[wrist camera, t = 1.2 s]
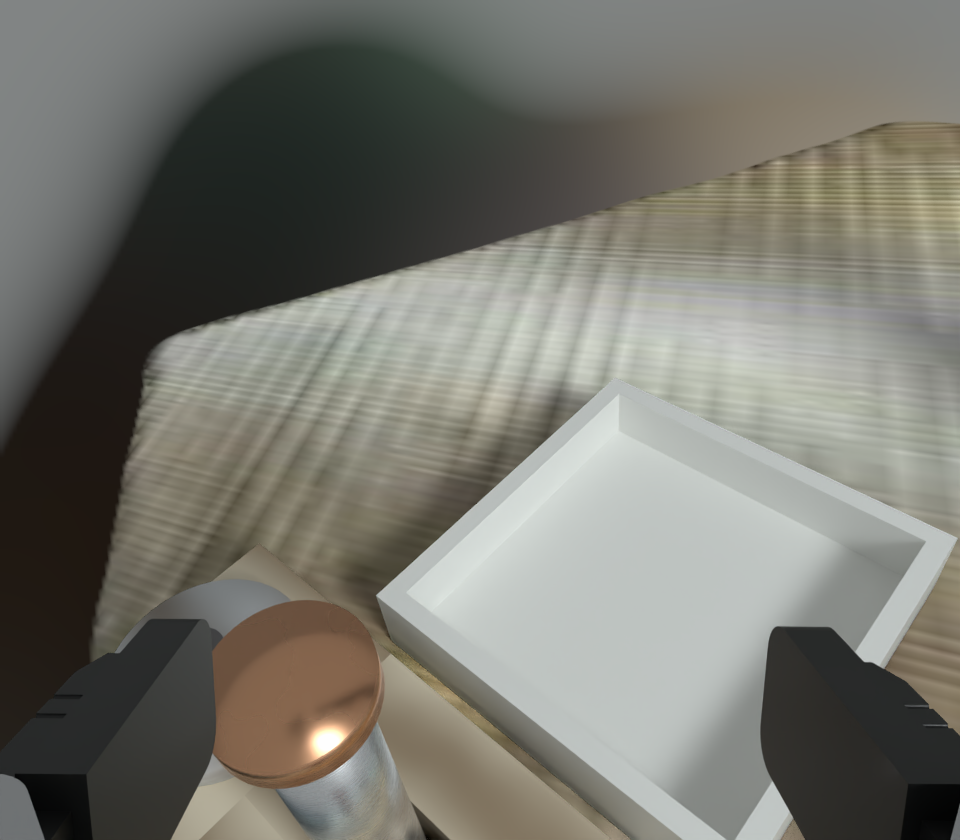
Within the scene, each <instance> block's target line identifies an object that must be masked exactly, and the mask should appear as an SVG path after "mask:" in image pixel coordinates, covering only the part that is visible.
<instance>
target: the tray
mask: <svg viewBox="0 0 960 840" xmlns="http://www.w3.org/2000/svg"><path fill="white" fill-rule="evenodd" d="M957 539H958V538H956V537H954V536H952V535H950V534H948V533H946V532H943V531H941V530H939V529H937V528H935V527H933V526H931V525H929V524H926V523H924V522H922V521H920V520H918V519H916V518H914V517H911V516H909V515H907V514H905V513H903V512H901V511H899V510H897V509H894V508H892V507H890V506H888V505H886V504H884V503H882V502H880V501H877V500H875V499H873V498H871V497H869V496H867V495H865V494H862V493H860V492H858V491H856V490H854V489H852V488H850V487H848V486H845V485H843V484H841V483H839V482H837V481H835V480H833V479H830V478H828V477H826V476H824V475H822V474H820V473H818V472H816V471H813V470H811V469H809V468H807V467H805V466H803V465H801V464H799V463H796V462H794V461H792V460H790V459H788V458H786V457H784V456H781V455H779V454H777V453H775V452H773V451H771V450H769V449H767V448H764V447H762V446H760V445H758V444H756V443H754V442H752V441H749V440H747V439H745V438H743V437H741V436H739V435H737V434H735V433H732V432H730V431H728V430H726V429H724V428H722V427H720V426H718V425H715V424H713V423H711V422H709V421H707V420H705V419H703V418H700V417H698V416H696V415H694V414H692V413H690V412H688V411H686V410H683V409H681V408H679V407H677V406H675V405H673V404H671V403H668V402H666V401H664V400H662V399H660V398H658V397H656V396H654V395H651V394H649V393H647V392H645V391H643V390H641V389H639V388H637V387H634V386H632V385H630V384H628V383H626V382H624V381H622V380H619V379H617V378H614V379H613V380H612V381H611V382H610V383H609V384H607V385H606V386H605V387H604V388H603V389H602V390H601V391H600V392H599V393H598V394H596V395H595V396H594V397H593V398H592V399H591V400H590V401H589V402H588V403H587V404H586V405H584V406H583V407H582V408H581V409H580V410H579V411H578V412H577V413H576V414H575V415H573V416H572V417H571V418H570V419H569V420H568V421H567V422H566V423H565V424H564V425H562V426H561V427H560V428H559V429H558V430H557V431H556V432H555V433H554V434H553V435H552V436H550V437H549V438H548V439H547V440H546V441H545V442H544V443H543V444H542V445H541V446H539V447H538V448H537V449H536V450H535V451H534V452H533V453H532V454H531V455H530V456H528V457H527V458H526V459H525V460H524V461H523V462H522V463H521V464H520V465H519V466H518V467H516V468H515V469H514V470H513V471H512V472H511V473H510V474H509V475H508V476H507V477H505V478H504V479H503V480H502V481H501V482H500V483H499V484H498V485H497V486H496V487H495V488H493V489H492V490H491V491H490V492H489V493H488V494H487V495H486V496H485V497H484V498H482V499H481V500H480V501H479V502H478V503H477V504H476V505H475V506H474V507H473V508H471V509H470V510H469V511H468V512H467V513H466V514H465V515H464V516H463V517H462V518H461V519H459V520H458V521H457V522H456V523H455V524H454V525H453V526H452V527H451V528H450V529H448V530H447V531H446V532H445V533H444V534H443V535H442V536H441V537H440V538H439V539H437V540H436V541H435V542H434V543H433V544H432V545H431V546H430V547H429V548H428V549H427V550H425V551H424V552H423V553H422V554H421V555H420V556H419V557H418V558H417V559H416V560H414V561H413V562H412V563H411V564H410V565H409V566H408V567H407V568H406V569H405V570H404V571H402V572H401V573H400V574H399V575H398V576H397V577H396V578H395V579H394V580H393V581H391V582H390V583H389V584H388V585H387V586H386V587H385V588H384V589H383V590H382V591H380V592H379V593H378V594H377V595H376V597H377V600H378V603H379V606H380V609H381V612H382V615H383V618H384V621H385V623H386V626H387V629H388V632H389V635H390V638H391V641H392V642H394V643H395V644H396V645H397V646H399V647H400V648H401V649H402V650H403V651H405V652H406V653H407V654H408V655H409V656H411V657H412V658H413V659H414V660H415V661H417V662H418V663H419V664H420V665H422V666H423V667H424V668H425V669H426V670H428V671H429V672H430V673H431V674H432V675H434V676H435V677H436V678H437V679H438V680H440V681H441V682H442V683H443V684H444V685H446V686H447V687H448V688H449V689H451V690H452V691H453V692H454V693H455V694H457V695H458V696H459V697H460V698H461V699H463V700H464V701H465V702H466V703H467V704H469V705H470V706H471V707H472V708H473V709H475V710H476V711H477V712H478V713H480V714H481V715H482V716H483V717H484V718H486V719H487V720H488V721H489V722H490V723H492V724H493V725H494V726H495V727H496V728H498V729H499V730H500V731H501V732H502V733H504V734H505V735H506V736H507V737H509V738H510V739H511V740H512V741H513V742H515V743H516V744H517V745H518V746H519V747H521V748H522V749H523V750H524V751H525V752H527V753H528V754H529V755H530V756H531V757H533V758H534V759H535V760H536V761H538V762H539V763H540V764H541V765H542V766H544V767H545V768H546V769H547V770H548V771H550V772H551V773H552V774H553V775H554V776H556V777H557V778H558V779H559V780H560V781H562V782H563V783H564V784H565V785H567V786H568V787H569V788H570V789H571V790H573V791H574V792H575V793H576V794H577V795H579V796H580V797H581V798H582V799H583V800H585V801H586V802H587V803H588V804H589V805H591V806H592V807H593V808H594V809H596V810H597V811H598V812H599V813H600V814H602V815H603V816H604V817H605V818H606V819H608V820H609V821H610V822H611V823H612V824H614V825H615V826H616V827H617V828H618V829H620V830H621V831H622V832H623V833H625V834H626V835H627V836H628V837H629V838H631V839H632V840H780V839H781V838H782V836H783V834H784V833H785V831H786V829H787V828H788V826H789V824H790V823H791V821H792V819H793V817H792V815H791V813H790V811H789V809H788V808H787V806H786V804H785V802H784V801H783V799H782V797H781V795H780V793H779V792H778V790H777V788H776V786H775V784H774V783H773V781H772V779H771V777H770V775H769V773H768V771H767V769H766V766H765V762H764V759H763V754H762V748H761V739H760V724H761V713H762V703H763V692H764V682H765V671H766V661H767V650H768V642H769V637H770V634H771V632H772V630H773V629H774V628H775V627H777V626H796V627H830V628H832V629H833V630H835V632H836V633H837V634H838V635H839V636H840V637H841V638H842V639H843V640H844V641H845V642H846V643H847V644H848V645H849V646H850V648H851V649H852V650H853V651H854V652H855V653H856V654H857V655H858V656H859V657H860V658H861V659H862V660H863V661H864V662H873V663H874V664H876V665H878V666H880V667H881V668H883V669H884V668H885V667H886V665H887V663H888V662H889V660H890V658H891V657H892V655H893V654H894V652H895V650H896V649H897V647H898V645H899V644H900V642H901V640H902V639H903V637H904V635H905V634H906V632H907V631H908V629H909V627H910V626H911V624H912V622H913V621H914V619H915V617H916V616H917V614H918V612H919V611H920V609H921V608H922V606H923V604H924V603H925V601H926V599H927V598H928V596H929V594H930V593H931V591H932V589H933V588H934V586H935V584H936V582H937V580H938V577H939V575H940V573H941V571H942V569H943V567H944V565H945V563H946V561H947V559H948V557H949V555H950V553H951V551H952V549H953V547H954V545H955V543H956V541H957Z"/></svg>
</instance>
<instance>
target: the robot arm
mask: <svg viewBox="0 0 960 840" xmlns="http://www.w3.org/2000/svg"><path fill="white" fill-rule="evenodd" d="M215 735H216V708H215V691H214V674H213V656H212V639H211V631H210V627H209V624H208V622H207V621H206V620H205V619H150V620H149V621H148V622H146V624H145V625H144V626H143V627H142V628H141V629H140V630H139V632H138V633H137V634H136V635H135V636H134V637H133V639H132V640H131V641H130V642H129V643H128V644H127V645H126V647H125V648H124V649H123V650H122V651H121V652H120V653H107V654H106V655H104V656H102V657H100V658H99V659H97V660H95V661H94V662H92V663H90V664H88V665H87V666H85V667H83V668H82V669H80V670H78V671H76V672H75V673H74V674H73V675H72V676H71V677H70V678H69V679H68V680H67V681H66V682H65V684H63V686H62V687H61V688H60V689H59V690H58V691H57V692H56V693H55V694H54V698H53V699H49V700H48V702H47V703H46V704H45V705H44V706H43V707H42V708H41V709H40V710H39V711H38V712H37V714H36V718H32V719H31V720H30V721H29V722H28V723H27V724H26V725H25V726H24V727H23V728H22V729H21V730H20V731H19V733H18V734H17V735H16V736H15V737H14V738H13V739H12V740H11V741H10V742H9V743H8V744H7V745H6V746H5V747H4V748H3V749H2V751H1V752H0V840H171V838H172V836H173V834H174V832H175V830H176V828H177V827H178V825H179V823H180V821H181V819H182V817H183V815H184V813H185V811H186V809H187V807H188V805H189V803H190V801H191V799H192V797H193V795H194V793H195V791H196V789H197V787H198V785H199V784H200V782H201V780H202V778H203V776H204V774H205V772H206V770H207V768H208V765H209V763H210V760H211V756H212V753H213V748H214V742H215ZM760 739H761V748H762V754H763V759H764V762H765V766H766V769H767V771H768V773H769V775H770V777H771V779H772V781H773V783H774V784H775V786H776V788H777V790H778V792H779V793H780V795H781V797H782V799H783V801H784V802H785V804H786V806H787V808H788V809H789V811H790V813H791V815H792V817H793V818H794V820H795V822H796V824H797V826H798V827H799V829H800V831H801V833H802V835H803V836H804V838H805V840H960V736H959V735H958V733H957V732H956V731H955V730H954V729H953V728H948V723H947V722H946V721H945V720H944V719H943V718H942V717H941V716H940V715H939V714H938V713H937V712H936V711H935V710H934V709H929V704H928V703H927V702H926V701H925V700H924V699H923V698H922V697H921V696H920V695H919V694H918V693H917V692H916V691H915V690H914V689H913V688H912V687H911V686H910V685H909V684H908V683H907V682H906V681H904V680H902V679H901V678H899V677H897V676H895V675H894V674H892V673H890V672H888V671H887V670H885V669H883V668H881V667H880V666H878V665H876V664H874V663H873V662H864V661H863V660H862V659H861V658H860V657H859V656H858V655H857V654H856V653H855V652H854V651H853V650H852V649H851V648H850V646H849V645H848V644H847V643H846V642H845V641H844V640H843V639H842V638H841V637H840V636H839V635H838V634H837V633H836V632H835V630H833V629H832V628H830V627H796V626H777V627H775V628H774V629H773V630H772V632H771V634H770V637H769V642H768V650H767V661H766V671H765V682H764V692H763V703H762V713H761V724H760Z"/></svg>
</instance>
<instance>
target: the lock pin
mask: <svg viewBox="0 0 960 840" xmlns="http://www.w3.org/2000/svg"><path fill="white" fill-rule="evenodd" d="M212 656H213V674H214V691H215V708H216V735H215V742H214V748H213V754H214V756H215V757H216V758H217V760H218V761H219V762H220V764H221V765H222V766H223V767H224V768H225V769H226V770H227V771H228V772H229V773H230V774H231V775H233V776H234V777H236V778H237V779H239V780H241V781H243V782H245V783H247V784H250V785H253V786H257V787H261V788H269V789H275V790H276V792H277V793H278V795H279V796H280V798H281V799H282V800H283V802H284V803H285V805H286V806H287V808H288V809H289V811H290V812H291V813H292V815H293V816H294V818H295V819H296V821H297V822H298V823H299V825H300V826H301V828H302V829H303V831H304V832H305V834H306V835H307V836H308V838H309V839H310V840H426V837H425V835H424V832H423V830H422V828H421V825H420V823H419V820H418V818H417V816H416V813H415V811H414V808H413V806H412V804H411V801H410V799H409V796H408V794H407V792H406V789H405V787H404V784H403V782H402V780H401V777H400V775H399V773H398V770H397V768H396V765H395V763H394V761H393V758H392V756H391V753H390V751H389V749H388V746H387V744H386V741H385V739H384V737H383V734H382V732H381V729H380V727H379V725H378V722H377V720H378V718H379V715H380V712H381V709H382V705H383V701H384V692H385V678H384V673H383V668H382V665H381V662H380V659H379V656H378V653H377V651H376V648H375V645H374V642H373V640H372V638H371V636H370V634H369V632H368V630H367V629H366V628H365V626H364V625H363V624H362V622H360V621H359V620H358V619H357V618H356V617H355V616H354V615H353V614H351V613H350V612H348V611H347V610H345V609H343V608H341V607H339V606H337V605H334V604H331V603H327V602H322V601H315V600H296V601H290V602H285V603H281V604H277V605H274V606H271V607H268V608H266V609H263V610H261V611H259V612H257V613H255V614H253V615H252V616H250V617H248V618H247V619H245V620H243V621H242V622H241V623H239V624H238V625H237V626H236V627H234V628H233V629H232V630H231V631H230V632H229V633H228V634H227V635H225V636H224V638H223V639H222V640H221V641H220V642H219V643H218V644H217V645H216V647H215V648H214V650H213V651H212Z"/></svg>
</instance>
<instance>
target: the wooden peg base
mask: <svg viewBox="0 0 960 840" xmlns="http://www.w3.org/2000/svg"><path fill="white" fill-rule="evenodd" d="M296 600H315V601H322V602H327V603H330V602H329V601H327V600H326V599H325V598H324V597H323V596H322V595H320V594H319V593H318V592H317V591H316V590H314V589H313V588H312V587H311V586H310V585H308V584H307V583H306V582H305V581H304V580H303V579H301V578H300V577H299V576H298V575H297V574H295V573H294V572H293V571H292V570H291V569H289V568H288V567H287V566H286V565H285V564H283V563H282V562H281V561H280V560H279V559H278V558H276V557H275V556H274V555H273V554H272V553H270V552H269V551H268V550H267V549H266V548H264V547H263V546H262V545H261V544H260V543H259V544H258V545H257V546H255V547H254V548H253V549H252V550H250V551H249V552H248V553H247V554H245V555H244V556H243V557H242V558H240V559H239V560H238V561H237V562H235V563H234V564H233V565H232V566H230V567H229V568H228V569H227V570H225V571H224V572H223V573H222V574H220V575H219V576H218V577H216V578H215V579H214V580H213V581H211V582H209V583H205V584H201V585H198V586H195V587H192V588H190V589H187V590H185V591H183V592H181V593H179V594H176V595H174V596H173V597H171V598H169V599H168V600H166V601H164V602H163V603H161V604H160V605H158V606H157V607H156V608H154V609H153V610H152V611H150V612H149V613H148V614H147V615H146V616H145V617H143V618H142V619H141V620H140V621H139V622H138V623H137V624H136V625H135V626H134V627H133V628H132V629H131V631H130V632H129V633H128V634H127V636H126V637H125V638H124V639H123V641H122V642H121V644H120V645H119V647H118V648H117V650H116V651H115V653H120V652H121V651H122V650H123V649H124V648H125V647H126V645H127V644H128V643H129V642H130V641H131V640H132V639H133V637H134V636H135V635H136V634H137V633H138V632H139V630H140V629H141V628H142V627H143V626H144V625H145V624H146V622H148V621H149V620H150V619H205V620H206V621H207V622H208V624H209V627H210V631H211V639H212V651H213V650H214V648H215V647H216V645H217V644H218V643H219V642H220V641H221V640H222V639H223V638H224V636H225V635H227V634H228V633H229V632H230V631H231V630H232V629H233V628H234V627H236V626H237V625H238V624H239V623H241V622H242V621H243V620H245V619H247V618H248V617H250V616H252V615H253V614H255V613H257V612H259V611H261V610H263V609H266V608H268V607H271V606H274V605H277V604H281V603H285V602H290V601H296ZM372 640H373V642H374V645H375V648H376V651H377V653H378V656H379V659H380V662H381V665H382V668H383V673H384V678H385V692H384V701H383V705H382V709H381V712H380V715H379V718H378V720H377V722H378V725H379V727H380V729H381V732H382V734H383V737H384V739H385V741H386V744H387V746H388V749H389V751H390V753H391V756H392V758H393V761H394V763H395V765H396V768H397V770H398V773H399V775H400V777H401V780H402V782H403V784H404V787H405V789H406V792H407V794H408V796H409V799H410V801H411V804H412V806H413V808H414V811H415V813H416V816H417V818H418V820H419V823H420V825H421V828H422V830H423V832H424V834H425V835H426V836H427V837H428V838H429V839H430V840H610V838H609V837H608V836H607V835H606V834H605V833H603V832H602V831H601V830H600V829H599V828H597V827H596V826H595V825H594V824H593V823H592V822H590V821H589V820H588V819H587V818H586V817H584V816H583V815H582V814H581V813H580V812H578V811H577V810H576V809H575V808H574V807H572V806H571V805H570V804H569V803H568V802H567V801H565V800H564V799H563V798H562V797H561V796H559V795H558V794H557V793H556V792H555V791H553V790H552V789H551V788H550V787H549V786H548V785H546V784H545V783H544V782H543V781H542V780H540V779H539V778H538V777H537V776H536V775H534V774H533V773H532V772H531V771H530V770H528V769H527V768H526V767H525V766H524V765H523V764H521V763H520V762H519V761H518V760H517V759H515V758H514V757H513V756H512V755H511V754H509V753H508V752H507V751H506V750H505V749H504V748H502V747H501V746H500V745H499V744H498V743H496V742H495V741H494V740H493V739H492V738H490V737H489V736H488V735H487V734H486V733H484V732H483V731H482V730H481V729H480V728H479V727H477V726H476V725H475V724H474V723H473V722H471V721H470V720H469V719H468V718H467V717H465V716H464V715H463V714H462V713H461V712H460V711H458V710H457V709H456V708H455V707H454V706H452V705H451V704H450V703H449V702H448V701H446V700H445V699H444V698H443V697H442V696H440V695H439V694H438V693H437V692H436V691H435V690H433V689H432V688H431V687H430V686H429V685H427V684H426V683H425V682H424V681H423V680H421V679H420V678H419V677H418V676H417V675H415V674H414V673H413V672H412V671H411V670H410V669H408V668H407V667H406V666H405V665H404V664H402V663H401V662H400V661H399V660H398V659H396V658H395V657H394V656H393V655H392V654H391V653H389V652H388V651H387V650H386V649H385V648H383V647H382V646H381V645H380V644H379V643H377V642H376V641H375V640H374V639H373V638H372ZM171 840H310V839H309V838H308V836H307V835H306V834H305V832H304V831H303V829H302V828H301V826H300V825H299V823H298V822H297V821H296V819H295V818H294V816H293V815H292V813H291V812H290V811H289V809H288V808H287V806H286V805H285V803H284V802H283V800H282V799H281V798H280V796H279V795H278V793H277V792H276V790H275V789H269V788H261V787H257V786H253V785H250V784H247V783H245V782H243V781H241V780H239V779H237V778H236V777H234V776H233V775H231V774H230V773H229V772H228V771H227V770H226V769H225V768H224V767H223V766H222V765H221V764H220V762H219V761H218V760H217V758H216V757H215V756H214V754H213V753H212V756H211V760H210V763H209V765H208V768H207V770H206V772H205V774H204V776H203V778H202V780H201V782H200V784H199V785H198V787H197V789H196V791H195V793H194V795H193V797H192V799H191V801H190V803H189V805H188V807H187V809H186V811H185V813H184V815H183V817H182V819H181V821H180V823H179V825H178V827H177V828H176V830H175V832H174V834H173V836H172V838H171Z"/></svg>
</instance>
